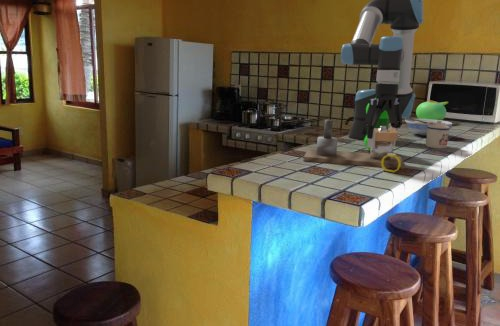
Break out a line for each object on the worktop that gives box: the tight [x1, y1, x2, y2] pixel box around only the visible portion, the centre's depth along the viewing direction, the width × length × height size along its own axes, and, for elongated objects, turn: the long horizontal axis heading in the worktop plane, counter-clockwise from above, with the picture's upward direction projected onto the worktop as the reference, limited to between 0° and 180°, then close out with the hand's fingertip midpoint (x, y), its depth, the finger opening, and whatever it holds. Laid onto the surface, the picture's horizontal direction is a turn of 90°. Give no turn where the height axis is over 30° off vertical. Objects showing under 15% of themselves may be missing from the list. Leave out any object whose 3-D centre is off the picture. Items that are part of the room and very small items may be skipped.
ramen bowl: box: [403, 117, 453, 137], centre depth 224 cm, size 25×23×8 cm
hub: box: [369, 126, 393, 160], centre depth 154 cm, size 7×7×12 cm
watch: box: [381, 152, 401, 173], centre depth 142 cm, size 6×3×6 cm, turn 55°
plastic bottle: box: [363, 98, 390, 152], centre depth 174 cm, size 10×10×25 cm
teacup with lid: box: [425, 120, 451, 150], centre depth 191 cm, size 12×9×12 cm
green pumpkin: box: [415, 99, 449, 121], centre depth 279 cm, size 18×17×15 cm
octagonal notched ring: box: [374, 128, 399, 142], centre depth 154 cm, size 10×10×3 cm
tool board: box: [303, 119, 405, 170], centre depth 156 cm, size 34×16×14 cm, turn 77°
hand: (381, 146), depth 155 cm, fingers closed on octagonal notched ring, 10 cm apart
